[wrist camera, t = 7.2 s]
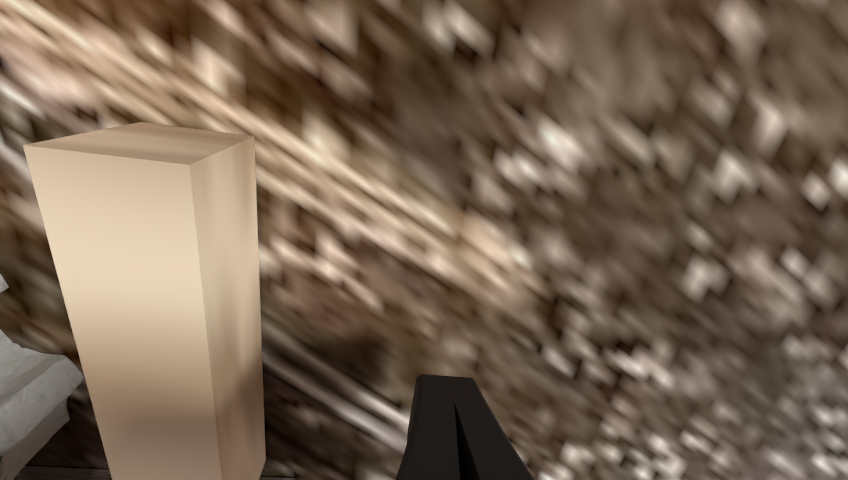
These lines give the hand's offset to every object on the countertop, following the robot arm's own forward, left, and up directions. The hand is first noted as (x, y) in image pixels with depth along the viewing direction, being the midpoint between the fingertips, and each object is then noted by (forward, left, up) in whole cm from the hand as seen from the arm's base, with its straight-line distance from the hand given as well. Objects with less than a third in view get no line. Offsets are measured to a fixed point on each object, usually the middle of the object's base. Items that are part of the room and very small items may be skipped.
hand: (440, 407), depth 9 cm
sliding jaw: (0, +6, -3) cm, 7 cm away
